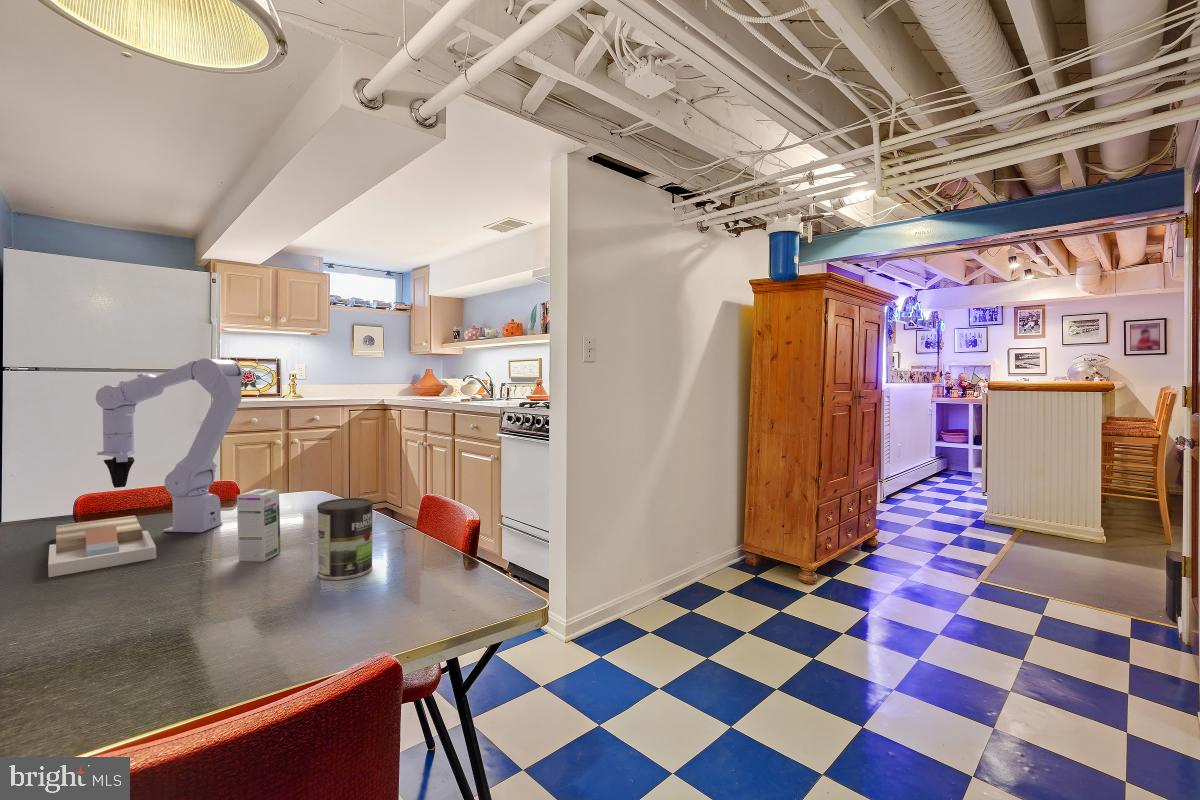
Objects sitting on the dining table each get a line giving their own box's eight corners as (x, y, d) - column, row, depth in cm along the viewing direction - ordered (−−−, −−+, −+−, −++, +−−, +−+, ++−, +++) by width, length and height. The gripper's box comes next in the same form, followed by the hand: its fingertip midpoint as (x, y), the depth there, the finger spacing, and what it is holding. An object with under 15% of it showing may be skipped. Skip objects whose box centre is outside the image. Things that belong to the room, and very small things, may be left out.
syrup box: (264, 562, 113) (263, 494, 112) (237, 561, 113) (236, 493, 112) (281, 553, 119) (280, 488, 118) (254, 552, 119) (254, 488, 118)
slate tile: (86, 551, 110) (86, 560, 110) (118, 546, 113) (119, 555, 114) (85, 545, 113) (85, 554, 113) (117, 540, 117) (117, 549, 117)
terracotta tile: (85, 537, 117) (85, 530, 116) (115, 532, 121) (116, 526, 120) (86, 553, 114) (86, 546, 114) (117, 548, 118) (117, 541, 117)
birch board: (56, 538, 125) (56, 525, 125) (135, 527, 135) (135, 515, 135) (56, 555, 114) (56, 541, 114) (142, 541, 124) (141, 529, 124)
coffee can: (383, 564, 113) (383, 499, 112) (351, 583, 103) (351, 511, 102) (340, 560, 115) (340, 495, 114) (305, 577, 105) (305, 507, 104)
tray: (49, 556, 113) (49, 544, 113) (147, 540, 125) (147, 530, 125) (48, 577, 102) (48, 564, 102) (156, 558, 114) (156, 546, 114)
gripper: (94, 431, 135) (95, 484, 136) (99, 437, 126) (100, 494, 126) (131, 430, 141) (132, 480, 141) (138, 435, 131) (139, 489, 131)
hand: (119, 486), depth 134 cm, fingers closed
